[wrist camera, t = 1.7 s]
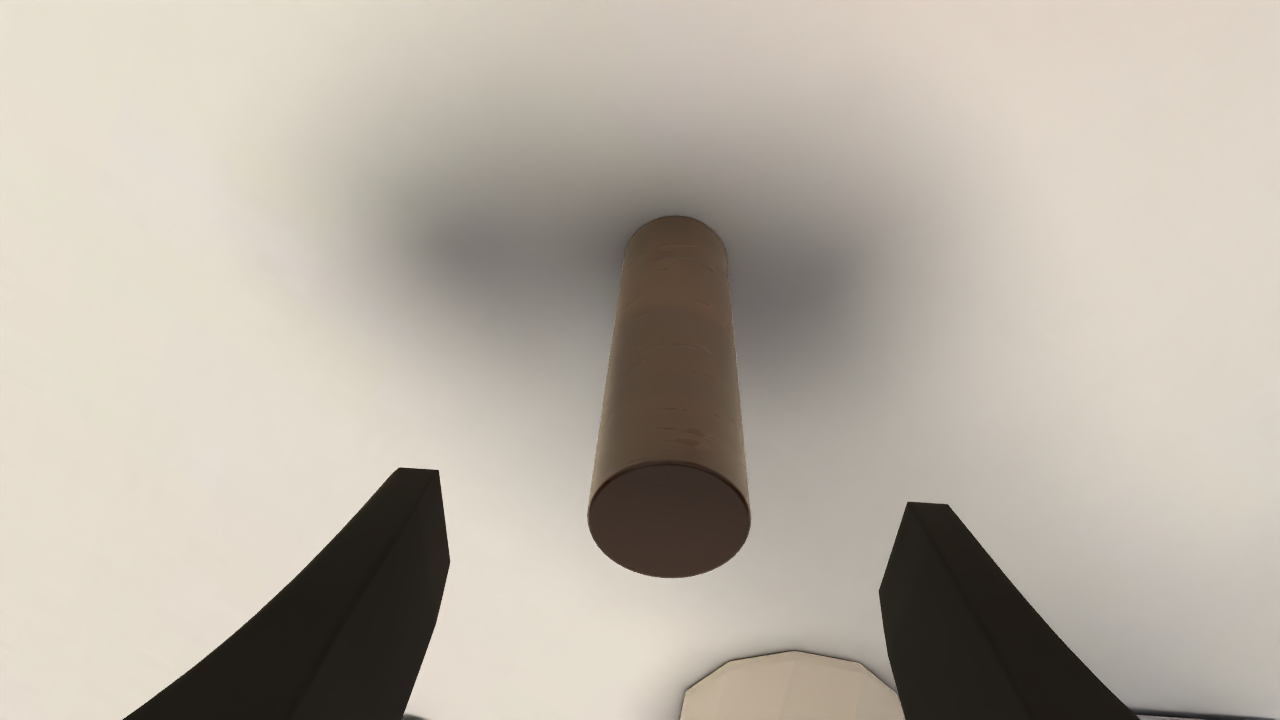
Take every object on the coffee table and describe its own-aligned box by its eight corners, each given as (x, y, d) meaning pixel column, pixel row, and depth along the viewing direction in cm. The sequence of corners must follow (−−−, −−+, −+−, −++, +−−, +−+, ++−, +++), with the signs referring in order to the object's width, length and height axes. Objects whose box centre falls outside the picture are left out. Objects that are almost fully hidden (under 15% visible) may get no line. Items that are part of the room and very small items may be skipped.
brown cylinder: (721, 311, 21) (741, 584, 13) (621, 304, 21) (585, 574, 13) (732, 218, 19) (761, 468, 12) (625, 212, 19) (587, 457, 12)
